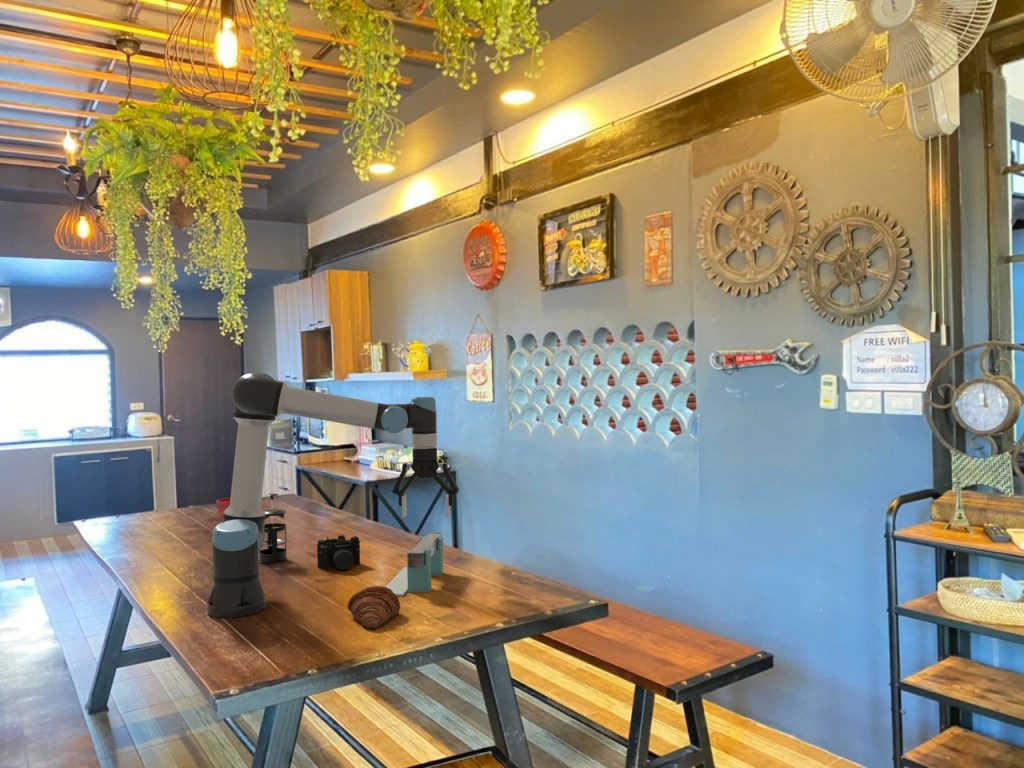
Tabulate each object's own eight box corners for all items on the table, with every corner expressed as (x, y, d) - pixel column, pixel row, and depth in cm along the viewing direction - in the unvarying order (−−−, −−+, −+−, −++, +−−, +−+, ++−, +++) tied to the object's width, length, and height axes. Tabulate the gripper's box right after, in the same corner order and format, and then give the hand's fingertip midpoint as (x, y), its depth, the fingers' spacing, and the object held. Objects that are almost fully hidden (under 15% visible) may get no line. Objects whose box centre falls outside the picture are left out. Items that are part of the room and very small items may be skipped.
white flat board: (402, 596, 215) (402, 594, 215) (379, 595, 216) (379, 593, 216) (425, 568, 245) (425, 566, 245) (404, 568, 246) (404, 566, 246)
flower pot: (211, 523, 325) (210, 501, 325) (227, 518, 335) (227, 496, 335) (232, 524, 322) (231, 501, 322) (248, 519, 332) (247, 497, 332)
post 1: (428, 592, 219) (428, 553, 218) (407, 592, 219) (407, 552, 219) (431, 588, 223) (430, 549, 222) (410, 588, 223) (410, 549, 223)
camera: (318, 574, 241) (317, 542, 241) (317, 565, 251) (316, 536, 251) (362, 570, 245) (361, 539, 244) (359, 562, 255) (359, 533, 255)
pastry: (418, 616, 198) (418, 586, 198) (371, 632, 186) (370, 600, 186) (378, 604, 209) (378, 575, 209) (331, 618, 197) (331, 587, 197)
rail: (422, 567, 216) (422, 553, 216) (408, 567, 216) (408, 553, 216) (441, 545, 244) (441, 533, 243) (429, 545, 244) (429, 532, 244)
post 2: (440, 575, 237) (440, 539, 236) (421, 575, 237) (421, 539, 237) (443, 572, 241) (442, 536, 240) (424, 572, 241) (423, 536, 241)
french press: (289, 562, 256) (288, 495, 255) (260, 565, 252) (259, 497, 251) (284, 554, 266) (283, 490, 266) (256, 558, 262) (255, 492, 262)
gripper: (467, 445, 232) (468, 514, 232) (388, 446, 234) (389, 514, 235) (462, 448, 224) (464, 518, 225) (381, 448, 227) (383, 518, 227)
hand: (426, 516), depth 230 cm, fingers open, 13 cm apart
